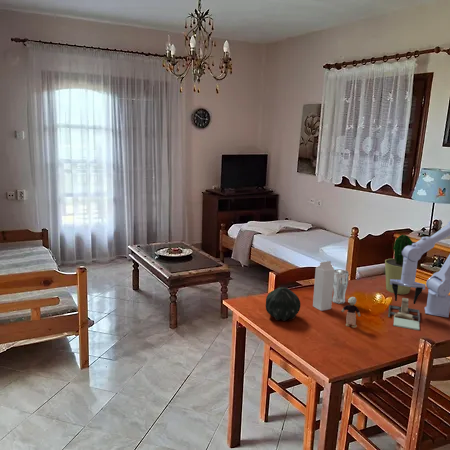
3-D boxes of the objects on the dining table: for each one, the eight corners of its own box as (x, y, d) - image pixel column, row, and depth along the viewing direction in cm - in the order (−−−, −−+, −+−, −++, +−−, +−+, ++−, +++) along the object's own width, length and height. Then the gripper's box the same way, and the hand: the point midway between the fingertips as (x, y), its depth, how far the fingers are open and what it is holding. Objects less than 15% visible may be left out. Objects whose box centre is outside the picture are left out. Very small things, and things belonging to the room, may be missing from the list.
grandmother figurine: (359, 325, 184) (362, 296, 181) (359, 328, 180) (362, 300, 178) (340, 322, 186) (343, 294, 183) (339, 325, 183) (342, 297, 180)
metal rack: (418, 312, 199) (419, 309, 199) (419, 322, 188) (420, 319, 188) (389, 307, 203) (389, 304, 203) (388, 317, 193) (388, 314, 192)
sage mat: (418, 322, 188) (418, 321, 188) (419, 330, 181) (419, 329, 180) (393, 318, 191) (394, 317, 191) (393, 325, 184) (393, 324, 184)
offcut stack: (413, 319, 192) (414, 314, 191) (413, 322, 189) (413, 317, 188) (394, 316, 195) (394, 311, 194) (393, 318, 192) (394, 313, 192)
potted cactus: (388, 295, 218) (395, 237, 212) (377, 284, 233) (383, 229, 227) (419, 296, 218) (426, 238, 212) (406, 285, 233) (413, 230, 227)
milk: (312, 306, 202) (315, 260, 198) (323, 304, 205) (326, 259, 200) (321, 311, 197) (324, 264, 192) (331, 309, 200) (335, 262, 195)
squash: (287, 295, 200) (273, 275, 192) (311, 307, 188) (297, 287, 180) (268, 319, 196) (252, 300, 188) (291, 333, 185) (276, 314, 176)
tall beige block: (406, 311, 200) (408, 298, 199) (406, 316, 194) (408, 304, 192) (400, 310, 201) (402, 297, 200) (400, 315, 195) (402, 303, 193)
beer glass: (346, 304, 205) (349, 274, 202) (331, 303, 206) (333, 273, 203) (345, 299, 211) (348, 269, 208) (330, 297, 213) (333, 268, 210)
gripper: (391, 272, 192) (387, 301, 195) (427, 278, 187) (422, 307, 190) (391, 268, 199) (388, 296, 202) (426, 273, 194) (422, 302, 196)
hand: (405, 301), depth 196 cm, fingers open, 7 cm apart
